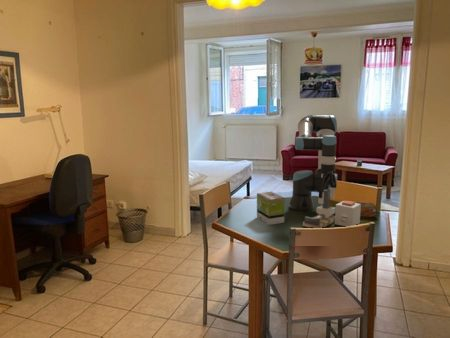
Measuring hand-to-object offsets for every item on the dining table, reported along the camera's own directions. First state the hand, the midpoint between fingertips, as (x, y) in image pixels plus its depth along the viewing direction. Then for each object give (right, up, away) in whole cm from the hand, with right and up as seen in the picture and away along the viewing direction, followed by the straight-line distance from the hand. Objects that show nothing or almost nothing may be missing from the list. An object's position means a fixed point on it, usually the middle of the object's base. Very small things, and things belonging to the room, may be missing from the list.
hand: (326, 201), depth 217 cm
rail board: (-3, -12, -2) cm, 12 cm away
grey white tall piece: (0, -9, +2) cm, 9 cm away
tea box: (-31, -11, +2) cm, 33 cm away
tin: (+24, -10, +10) cm, 28 cm away
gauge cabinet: (+10, -12, -4) cm, 16 cm away
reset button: (+10, -3, -6) cm, 12 cm away
